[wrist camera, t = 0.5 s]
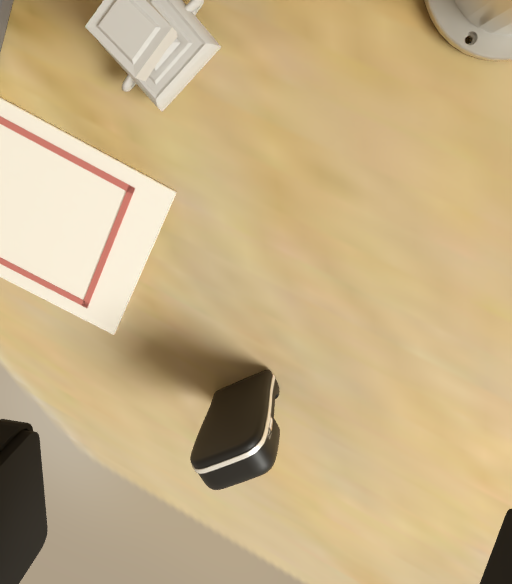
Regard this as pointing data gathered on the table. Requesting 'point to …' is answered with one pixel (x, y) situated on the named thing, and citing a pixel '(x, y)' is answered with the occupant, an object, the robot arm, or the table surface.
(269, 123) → the table surface
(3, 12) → the ink pad
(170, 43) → the stamp
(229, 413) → the battery charger
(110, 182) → the paper sheet
